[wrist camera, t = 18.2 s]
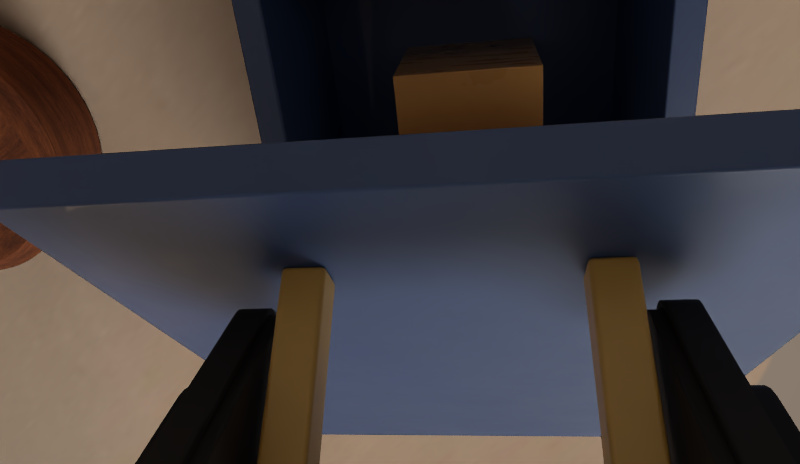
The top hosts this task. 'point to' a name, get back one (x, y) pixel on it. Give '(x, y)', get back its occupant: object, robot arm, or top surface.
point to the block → (469, 86)
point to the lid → (445, 266)
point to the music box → (37, 121)
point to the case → (459, 23)
